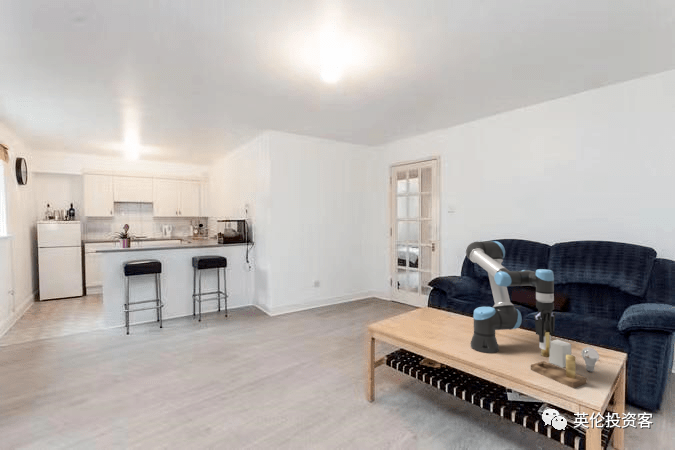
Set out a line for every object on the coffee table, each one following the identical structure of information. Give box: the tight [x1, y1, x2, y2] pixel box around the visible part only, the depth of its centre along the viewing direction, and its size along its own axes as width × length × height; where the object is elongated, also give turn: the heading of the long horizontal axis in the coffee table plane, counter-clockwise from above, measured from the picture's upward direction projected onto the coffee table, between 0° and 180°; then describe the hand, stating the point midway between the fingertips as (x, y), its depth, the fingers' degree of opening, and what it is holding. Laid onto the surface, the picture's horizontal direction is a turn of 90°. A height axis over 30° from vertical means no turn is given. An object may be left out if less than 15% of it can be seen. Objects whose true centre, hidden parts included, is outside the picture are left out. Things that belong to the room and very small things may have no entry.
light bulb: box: [581, 346, 600, 373], centre depth 161 cm, size 7×7×12 cm
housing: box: [548, 338, 572, 369], centre depth 170 cm, size 7×7×11 cm
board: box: [530, 354, 588, 389], centre depth 157 cm, size 20×10×12 cm, turn 24°
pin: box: [540, 331, 550, 358], centre depth 162 cm, size 4×4×12 cm
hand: (545, 348), depth 162 cm, fingers closed on pin, 3 cm apart
